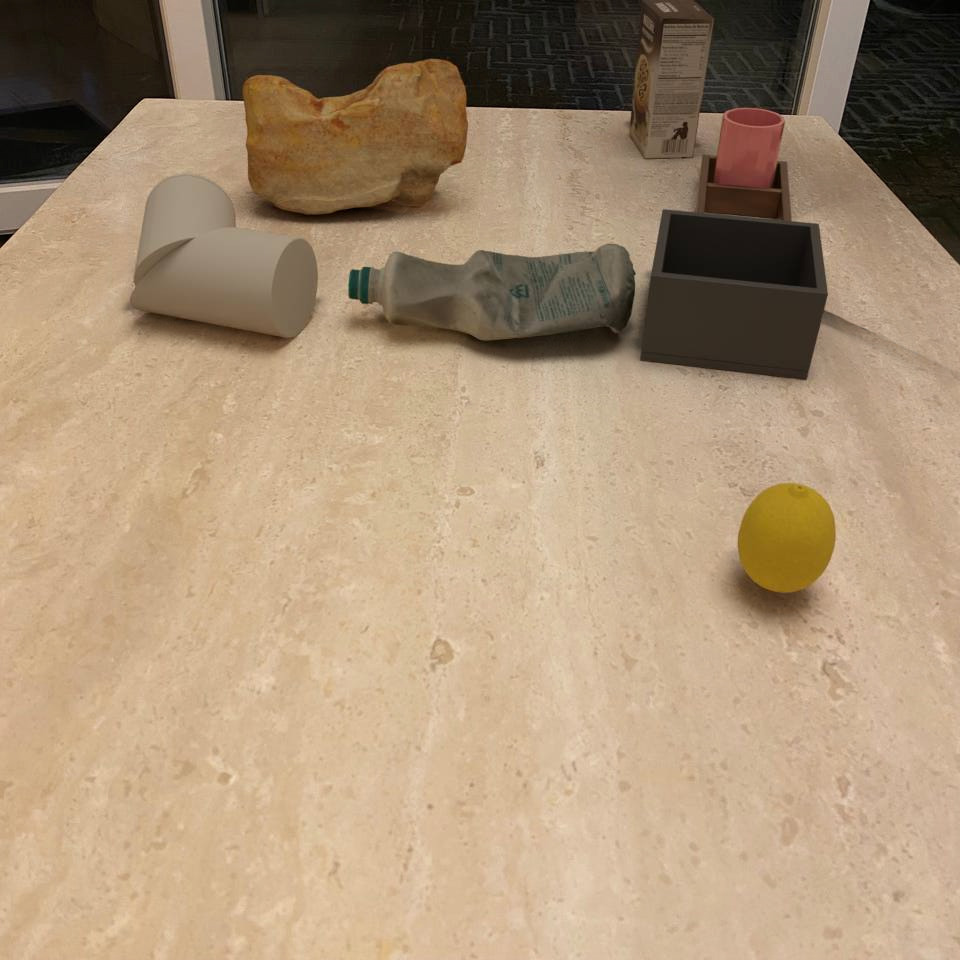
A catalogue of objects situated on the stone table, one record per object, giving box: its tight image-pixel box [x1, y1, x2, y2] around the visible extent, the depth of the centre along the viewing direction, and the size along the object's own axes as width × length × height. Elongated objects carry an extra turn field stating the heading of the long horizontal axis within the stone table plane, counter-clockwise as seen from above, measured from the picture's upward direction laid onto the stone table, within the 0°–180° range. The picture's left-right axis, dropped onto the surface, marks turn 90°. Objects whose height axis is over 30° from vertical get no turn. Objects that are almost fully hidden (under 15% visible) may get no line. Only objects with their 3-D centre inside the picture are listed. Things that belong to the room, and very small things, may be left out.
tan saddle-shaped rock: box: [242, 58, 469, 215], centre depth 108 cm, size 23×17×15 cm
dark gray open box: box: [640, 208, 829, 380], centre depth 86 cm, size 14×14×8 cm
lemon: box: [737, 482, 837, 593], centre depth 60 cm, size 6×6×8 cm
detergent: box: [347, 243, 637, 342], centre depth 87 cm, size 13×7×25 cm
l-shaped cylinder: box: [129, 172, 319, 339], centre depth 89 cm, size 18×10×20 cm
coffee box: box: [628, 0, 715, 159], centre depth 120 cm, size 9×6×16 cm
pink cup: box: [712, 107, 786, 188], centre depth 109 cm, size 6×6×9 cm
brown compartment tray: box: [694, 154, 793, 221], centre depth 108 cm, size 9×18×3 cm, turn 168°
